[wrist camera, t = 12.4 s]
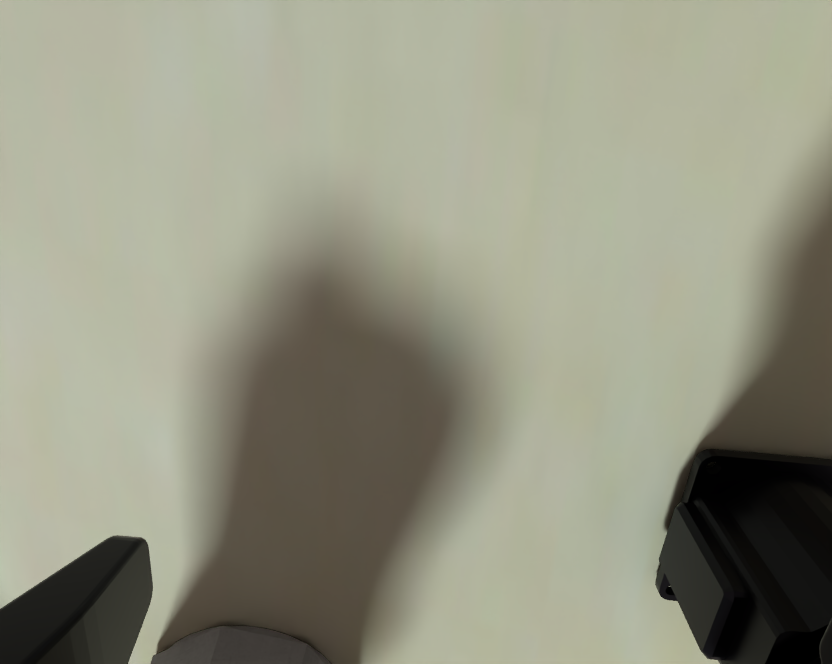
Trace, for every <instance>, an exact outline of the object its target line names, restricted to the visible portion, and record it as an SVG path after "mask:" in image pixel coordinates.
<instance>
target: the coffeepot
mask: <svg viewBox="0 0 832 664" xmlns="http://www.w3.org/2000/svg"><path fill="white" fill-rule="evenodd" d="M151 664H331V663H330V662H329V661H328V660H327V659H326V658H325V657H324V656H323V655H322V654H321V653H320V652H318V651H316V650H315V649H313V648H312V647H310V646H309V645H308V644H306V643H304V642H302V641H300V640H298V639H295V638H293V637H291V636H289V635H287V634H283V633H280V632H276V631H273V630H269V629H265V628H258V627H251V626H218V627H214V628H209V629H205V630H202V631H199V632H196V633H193V634H190V635H188V636H186V637H185V638H183V639H181V640H179V641H177V642H176V643H174V644H173V645H172V646H171V647H170V648H169V649H167V650H165V651H163V652H160V653H158V654H156V655H154V656H153V658H152V661H151Z"/></svg>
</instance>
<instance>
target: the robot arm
mask: <svg viewBox="0 0 832 664" xmlns="http://www.w3.org/2000/svg"><path fill="white" fill-rule="evenodd" d="M711 462H716V463H715V464H714V465H713V466H711V467H707V465H708V464H710V463H711ZM659 562H660V564H661V566H660V569H659V572H658V575H657V578H656V584H655V585H656V587H657V589H658V592H659V594H660V596H661V597H662V598H664V599H667V600H673V601H678V603H679V605H680V607H681V609H682V611H683V614H684V616H685V618H686V620H687V622H688V624H689V627H690V629H691V631H692V633H693V635H694V637H695V640H696V642H697V644H698V646H699V648H700V650H701V652H702V653H703V654H704V655H705V656H706V657H707V659H714V660H718V661H719V663H720V664H832V460H830V459H819V458H808V457H797V456H786V455H774V454H763V453H752V452H741V451H730V450H719V449H707V450H704V451H702V452H700V453H699V454H698V455H697V456H696V458H695V459H694V462H693V465H692V469H691V472H690V475H689V478H688V481H687V484H686V487H685V490H684V494H683V497H682V500H681V503H679V504H678V505H677V507H676V508H675V510H674V513H673V516H672V519H671V522H670V526H669V529H668V532H667V535H666V538H665V541H664V545H663V548H662V551H661V554H660V557H659ZM668 586H671V587H668ZM152 591H153V583H152V574H151V565H150V556H149V547H148V544H147V542H146V540H145V539H143V538H141V537H130V536H118V535H117V536H112V537H110V538H108V539H106V540H104V541H103V542H101V543H100V544H98V545H97V546H95V547H94V548H92V549H91V550H89V551H88V552H86V553H85V554H83V555H82V556H80V557H78V558H77V559H75V560H74V561H72V562H71V563H69V564H68V565H66V566H65V567H63V568H62V569H60V570H59V571H57V572H56V573H54V574H53V575H51V576H50V577H48V578H47V579H45V580H43V581H42V582H40V583H39V584H37V585H36V586H34V587H33V588H31V589H30V590H28V591H27V592H25V593H24V594H22V595H21V596H19V597H18V598H16V599H15V600H13V601H12V602H10V603H8V604H7V605H5V606H4V607H2V608H1V609H0V664H128V662H129V659H130V656H131V654H132V651H133V648H134V646H135V643H136V640H137V637H138V635H139V632H140V629H141V627H142V624H143V621H144V619H145V616H146V613H147V611H148V608H149V605H150V602H151V598H152Z"/></svg>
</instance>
